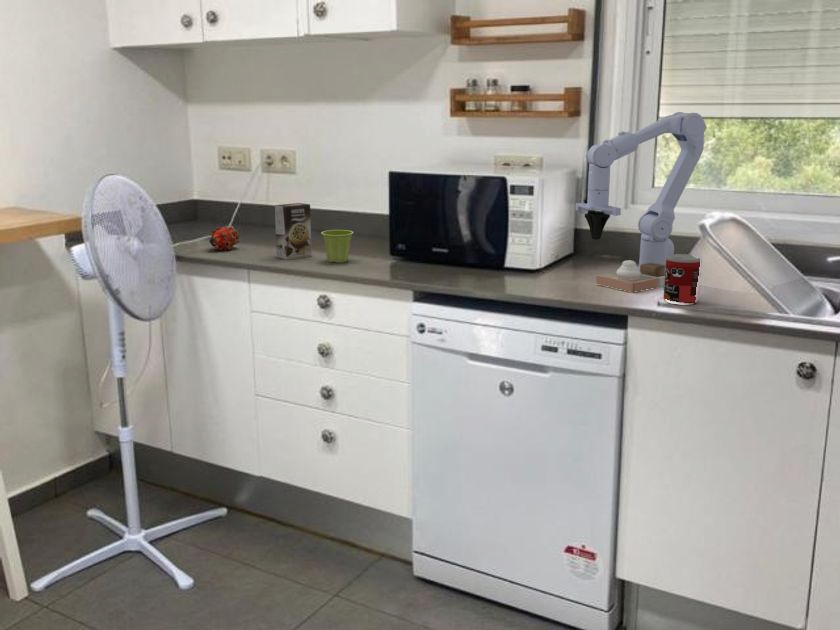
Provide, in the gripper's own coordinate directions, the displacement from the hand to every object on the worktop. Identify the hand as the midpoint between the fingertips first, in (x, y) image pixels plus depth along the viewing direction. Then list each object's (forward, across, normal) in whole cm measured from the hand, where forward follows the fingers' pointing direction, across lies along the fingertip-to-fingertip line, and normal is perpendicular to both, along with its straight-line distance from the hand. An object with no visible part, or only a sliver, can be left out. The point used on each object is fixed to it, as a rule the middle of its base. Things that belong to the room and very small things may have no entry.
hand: (596, 239), depth 235 cm
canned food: (+10, +36, -10) cm, 39 cm away
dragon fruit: (+10, -96, -67) cm, 117 cm away
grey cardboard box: (+10, -72, -55) cm, 91 cm away
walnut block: (+10, +17, +3) cm, 20 cm away
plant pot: (+10, -58, -48) cm, 76 cm away
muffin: (+10, +17, -6) cm, 21 cm away
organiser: (+9, +17, -2) cm, 19 cm away
